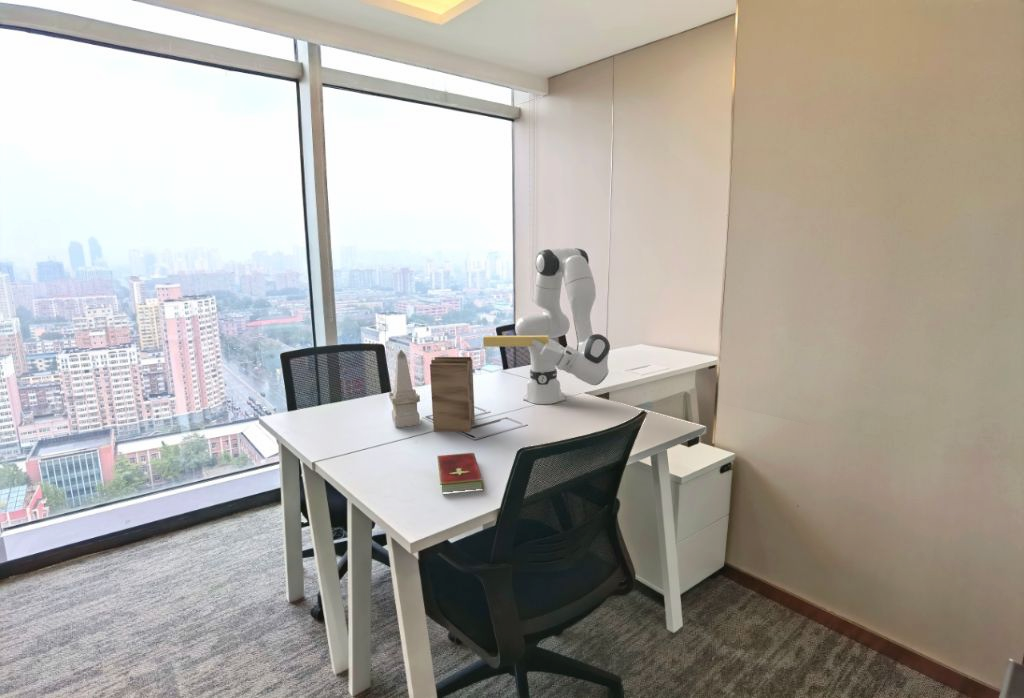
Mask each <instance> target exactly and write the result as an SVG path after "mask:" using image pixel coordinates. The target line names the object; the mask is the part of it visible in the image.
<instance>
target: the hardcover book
mask: <svg viewBox="0 0 1024 698" xmlns="http://www.w3.org/2000/svg"><path fill="white" fill-rule="evenodd" d="M436 457H437V464H438V465H437V466H438V467H437V468H438V473H439V474H438V475H439V483H440V484H439V485H440V486H441V485H442V487H441V492H442V493H443V492H453V491H465V490H476V489H483V490H484V481H483V478H482V474H481V470H480V467H479V464H478V461H477V458H476V454H475V452H474V451H473V452H464V453H455V454H442V455H437V456H436ZM442 493H441V494H442Z"/></svg>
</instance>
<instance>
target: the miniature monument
mask: <svg viewBox="0 0 1024 698" xmlns="http://www.w3.org/2000/svg"><path fill="white" fill-rule="evenodd" d="M395 362H396V363H395V364H396V365H395V377H394V388H393V390H392V392H391V391H389V392H388V396H389V400H390V402H391V404H392V410H391V417H392V418H391V419H392V420H393V421H392V422H394V423H393V425H394V427H399V428H403V427H402V426H407V427H413V426H412V425H414V426H420V425H421V421H420V420H421V418H420V413H419V411H418V403H420V402H421V399H420V397H421V396H420V395H419V394H418V393H417V391H416V389H415V388H413V384H412V379H411V373H410V368H409V363H408V358H407V355H406V353H405V352H404V351H403V350H402V349H400V350H399V352H397V353H396V361H395Z"/></svg>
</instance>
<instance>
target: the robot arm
mask: <svg viewBox="0 0 1024 698" xmlns="http://www.w3.org/2000/svg"><path fill="white" fill-rule="evenodd" d="M589 261H590V259H589V254H588V253H587V252H586V251H585V250H584V249H581V248H569V247H561V248H553V249H544V250H541V251H539V252H538V253H537V255H536V257H535V268H536V270H537V274H536V278H535V286H534V295H533V301H534V303H535V305H536V306H537V307H539V308H541V309H542V312H541V313H540V314H529V315H525V316H522V317H519V318H518V319H517V320H516V322H515V326H514V330H515V334H516V336H523V335H549V343H545V345H544V344H543V343H540V342H539V341H538V340H536V339H533V340H532V342H531V343H532V344H533V345H535V346H526V347H527V349H528V351H529V354H530V356H529V357H530V369H529V370H530V371H529V376H530V377H529V378H530V379H528V381H527V382H526V394H525V395H524V396H523V398H522V400H523V401H526V402H529V403H532V404H536V405H550V404H557V403H558V402H563V401H565V400H566V398H565V396H564V395H563V392H562V389H561V382H560V381H559V380H558V378H557V377H558V371H557V369H558V370H560V371H564V372H565V373H567V374H571V375H573V376H574V377H575V378H576V379H578V380H581V381H582V382H584V383H586V384H589V385H590V386H598V385H600V384H602V382H604V380H605V379H606V377H607V376H608V375H609V366H608V361H609V359H608V358H609V353H610V351H611V349H610V348H611V345H610V342H609V340H608V338H607V337H606V336H604V335H602V334H598V333H595V334H594V333H593V327H592V322H591V313H592V308H593V305H594V302H595V301H596V299H597V297H596V296H597V295H596V292H597V291H596V284H595V283H596V282H595V279H594V275H593V273H592V270H591V268H590V265H589V263H590V262H589ZM563 281H564V286H565V291H566V295H567V298H568V301H569V305H570V310H571V312H572V318H573V319H572V320H573V323H574V324H573V325H574V330H575V333H576V334H575V335H576V340H577V345H576V348H573V347H571V346H569V345H568V344H567V345H566V346H565V347H564V346H563V345H561V344H560V343H559V342H557V341H556V340H553V339H556V338H559V337H562V336H565V335H567V334H568V332H569V331H570V326H571V324H570V323H571V322H570V320H569V317H568V316H567V315H566V314H565V313H564V312H563V311H562V309H561V305H560V304H561V302H560V301H561V294H562V293H561V290H562V284H563Z"/></svg>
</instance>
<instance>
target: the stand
mask: <svg viewBox="0 0 1024 698" xmlns="http://www.w3.org/2000/svg"><path fill="white" fill-rule="evenodd" d="M473 367H474V366H473V358H472V357H471V356H435V357H434V359H431V360H430V364H429V371H430V372H429V373H430V389H431V391H430V392H431V406H432V407H431V410H432V425H433V427H432V428H433V432H462V433H463V432H464V433H465V432H467V433H470V432H471V430H472V428H473V427H474V425H475V424H476V420H475V419H476V415H475V414H476V413H475V396H474V395H475V394H474V370H473Z"/></svg>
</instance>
